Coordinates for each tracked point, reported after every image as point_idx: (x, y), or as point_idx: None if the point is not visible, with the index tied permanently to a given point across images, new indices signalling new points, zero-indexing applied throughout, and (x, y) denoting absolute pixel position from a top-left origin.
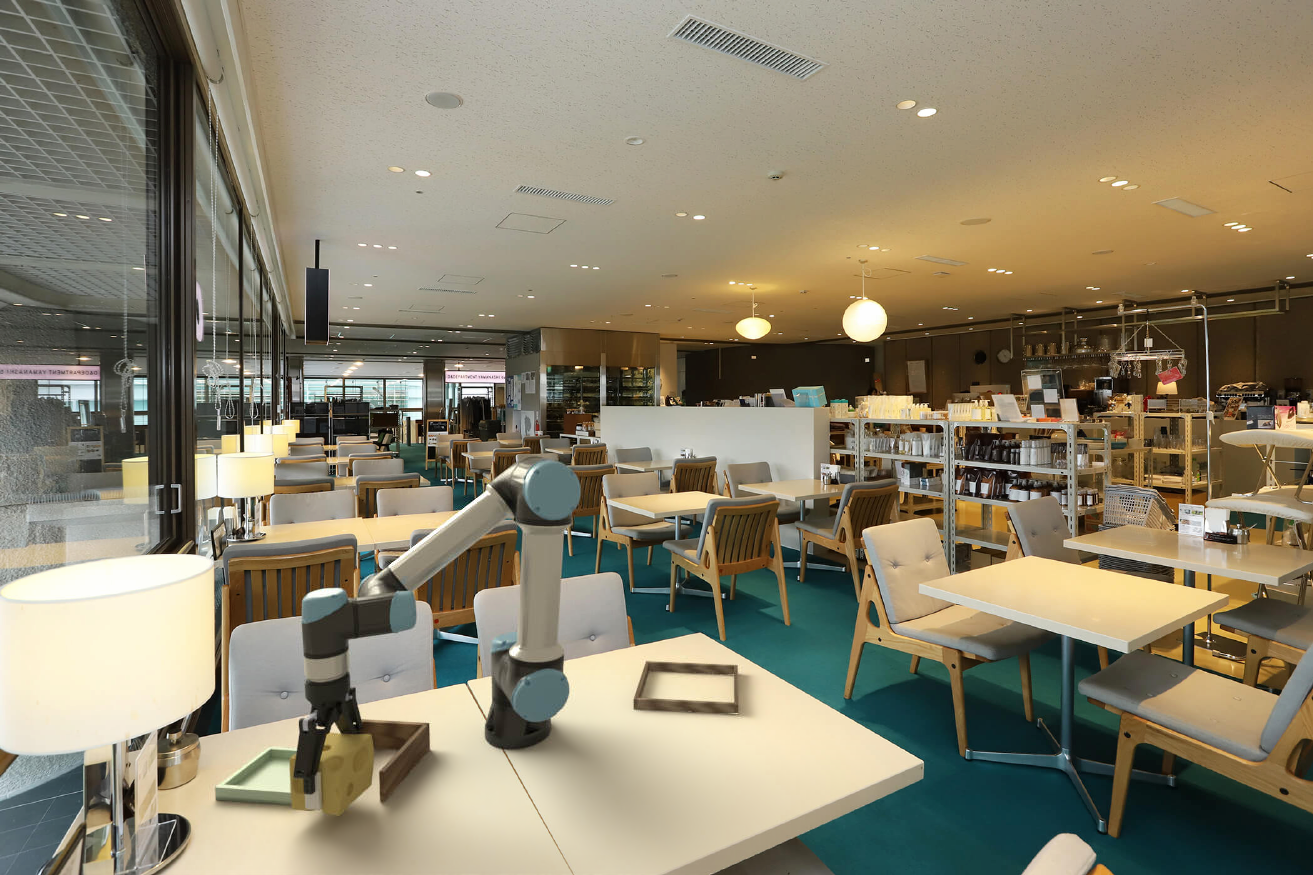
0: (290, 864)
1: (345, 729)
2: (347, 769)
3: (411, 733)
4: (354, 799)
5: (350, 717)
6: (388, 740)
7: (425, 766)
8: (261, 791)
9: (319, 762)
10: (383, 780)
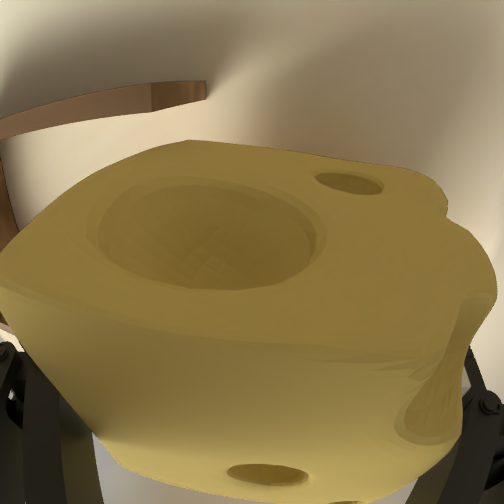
0: (495, 234)
1: (76, 451)
2: (407, 252)
3: None
4: (313, 155)
5: (10, 454)
6: (1, 236)
7: (33, 80)
8: None
9: (460, 446)
10: (172, 86)
